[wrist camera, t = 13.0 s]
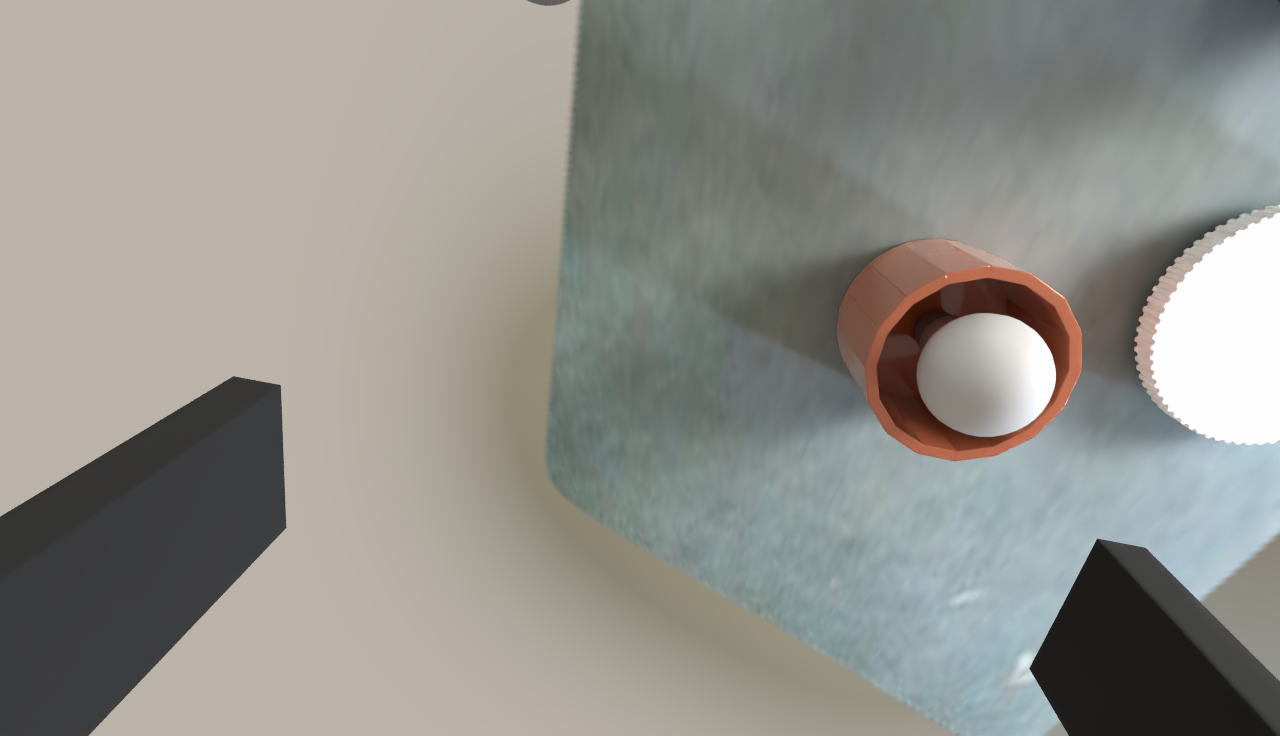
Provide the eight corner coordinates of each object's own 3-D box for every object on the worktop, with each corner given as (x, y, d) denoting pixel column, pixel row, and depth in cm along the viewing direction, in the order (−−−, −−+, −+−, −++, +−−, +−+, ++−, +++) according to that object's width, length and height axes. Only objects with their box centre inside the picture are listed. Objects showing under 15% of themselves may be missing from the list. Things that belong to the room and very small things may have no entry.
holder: (805, 298, 41) (829, 339, 34) (966, 203, 39) (1030, 225, 31) (884, 427, 44) (922, 491, 37) (1039, 347, 41) (1114, 399, 34)
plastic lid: (1309, 444, 42) (1345, 464, 40) (1087, 404, 42) (1110, 422, 40) (1441, 221, 37) (1491, 229, 35) (1187, 178, 37) (1221, 183, 35)
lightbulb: (995, 281, 39) (1100, 340, 29) (971, 377, 42) (1060, 464, 31) (889, 273, 40) (955, 330, 29) (871, 370, 42) (927, 453, 32)
